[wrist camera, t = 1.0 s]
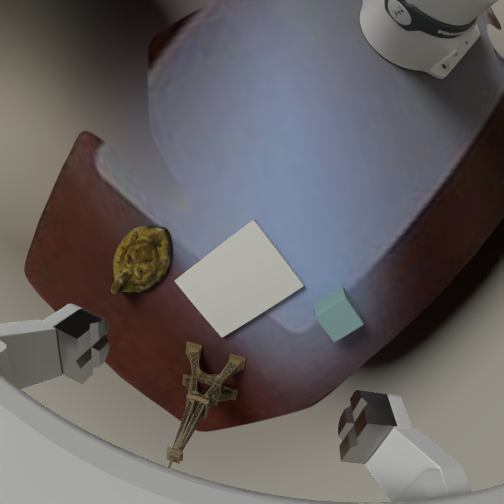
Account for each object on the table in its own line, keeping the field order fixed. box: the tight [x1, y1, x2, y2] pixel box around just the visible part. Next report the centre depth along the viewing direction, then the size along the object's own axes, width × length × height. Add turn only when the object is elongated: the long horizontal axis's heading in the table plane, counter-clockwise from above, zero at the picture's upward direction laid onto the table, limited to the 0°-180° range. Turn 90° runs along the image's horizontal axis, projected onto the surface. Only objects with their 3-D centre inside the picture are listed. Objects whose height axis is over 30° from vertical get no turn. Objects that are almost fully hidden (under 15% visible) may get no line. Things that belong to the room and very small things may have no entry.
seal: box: [111, 225, 171, 294], centre depth 47 cm, size 9×5×15 cm
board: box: [175, 219, 304, 337], centre depth 46 cm, size 16×12×1 cm
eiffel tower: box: [167, 341, 246, 468], centre depth 40 cm, size 11×11×25 cm
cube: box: [314, 285, 364, 342], centre depth 43 cm, size 5×5×5 cm
